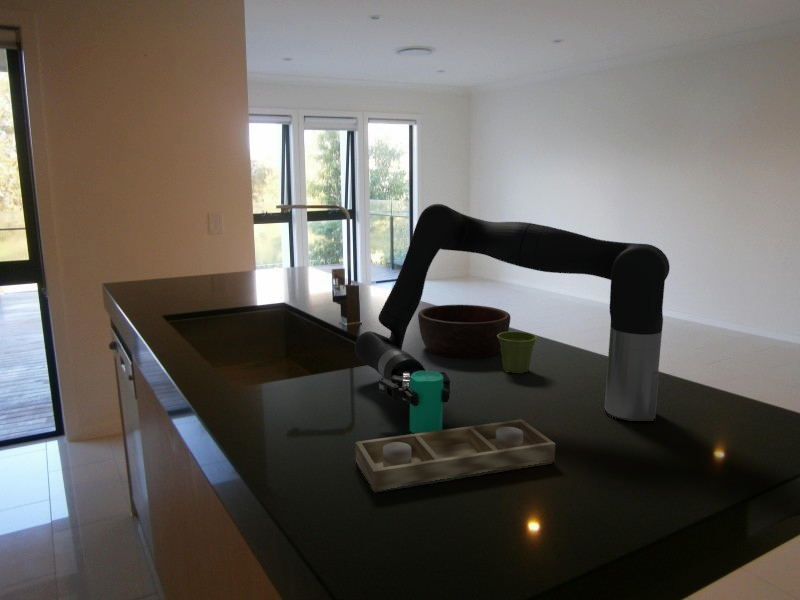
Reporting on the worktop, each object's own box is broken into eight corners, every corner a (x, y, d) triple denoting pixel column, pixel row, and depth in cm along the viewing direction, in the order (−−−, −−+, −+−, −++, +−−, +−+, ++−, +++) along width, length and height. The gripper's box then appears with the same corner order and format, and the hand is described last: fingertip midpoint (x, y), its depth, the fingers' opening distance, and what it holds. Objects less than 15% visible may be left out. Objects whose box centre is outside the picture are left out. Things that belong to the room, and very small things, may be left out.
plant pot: (506, 377, 138) (507, 342, 136) (489, 366, 147) (491, 332, 145) (542, 374, 140) (544, 339, 139) (523, 363, 149) (525, 330, 148)
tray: (520, 437, 105) (521, 416, 104) (554, 463, 95) (555, 440, 94) (355, 462, 95) (355, 438, 94) (373, 493, 85) (373, 468, 85)
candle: (422, 421, 112) (423, 360, 110) (448, 429, 108) (450, 367, 106) (402, 431, 107) (403, 368, 105) (429, 440, 103) (430, 374, 101)
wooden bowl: (408, 358, 153) (409, 320, 151) (427, 335, 177) (427, 302, 175) (506, 365, 148) (507, 325, 146) (511, 341, 171) (513, 306, 170)
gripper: (366, 356, 117) (392, 382, 101) (433, 350, 121) (469, 374, 105) (366, 392, 118) (392, 424, 102) (433, 385, 123) (468, 414, 107)
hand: (431, 398), depth 104 cm, fingers closed on candle, 5 cm apart
